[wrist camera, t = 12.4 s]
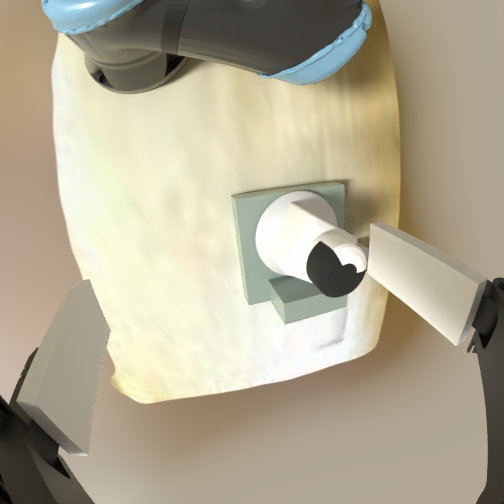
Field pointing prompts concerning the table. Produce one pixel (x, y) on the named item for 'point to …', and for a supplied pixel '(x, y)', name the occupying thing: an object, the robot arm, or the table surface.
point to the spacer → (366, 251)
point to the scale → (260, 234)
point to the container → (317, 252)
